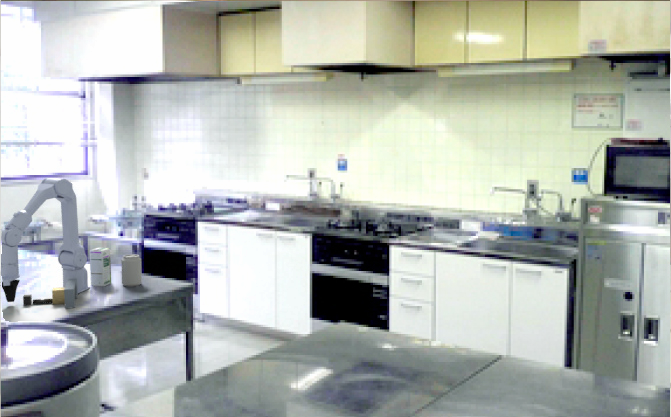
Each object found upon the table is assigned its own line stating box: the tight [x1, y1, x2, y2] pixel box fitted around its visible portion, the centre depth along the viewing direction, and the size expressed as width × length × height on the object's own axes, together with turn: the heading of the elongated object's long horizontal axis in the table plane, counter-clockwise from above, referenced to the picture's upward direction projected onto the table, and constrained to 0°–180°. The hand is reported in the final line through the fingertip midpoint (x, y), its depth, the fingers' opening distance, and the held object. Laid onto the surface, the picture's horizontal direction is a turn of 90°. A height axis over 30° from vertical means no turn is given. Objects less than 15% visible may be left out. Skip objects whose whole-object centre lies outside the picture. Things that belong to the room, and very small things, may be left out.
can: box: [120, 253, 143, 288], centre depth 264 cm, size 8×8×12 cm
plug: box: [22, 286, 65, 306], centre depth 235 cm, size 14×4×5 cm, turn 107°
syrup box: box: [89, 247, 112, 287], centre depth 264 cm, size 6×6×14 cm
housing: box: [64, 279, 78, 309], centre depth 237 cm, size 3×17×7 cm, turn 18°
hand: (10, 301), depth 232 cm, fingers closed
